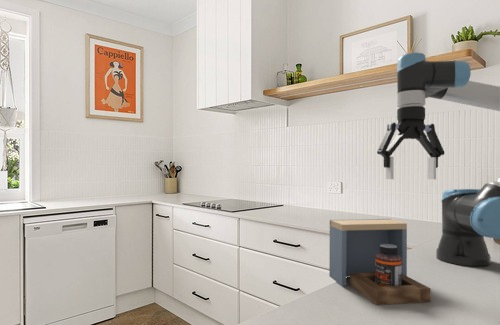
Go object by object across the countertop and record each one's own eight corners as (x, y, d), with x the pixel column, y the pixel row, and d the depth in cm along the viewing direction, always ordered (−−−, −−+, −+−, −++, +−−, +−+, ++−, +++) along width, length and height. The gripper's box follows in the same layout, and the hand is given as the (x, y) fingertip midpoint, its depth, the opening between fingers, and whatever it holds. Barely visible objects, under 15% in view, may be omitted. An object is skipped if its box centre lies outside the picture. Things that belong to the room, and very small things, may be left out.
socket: (396, 282, 91) (396, 271, 91) (430, 301, 78) (430, 288, 78) (350, 284, 88) (350, 273, 88) (376, 304, 76) (376, 291, 76)
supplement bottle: (370, 292, 83) (370, 245, 83) (381, 286, 87) (381, 241, 88) (395, 299, 79) (395, 249, 79) (405, 293, 83) (405, 245, 83)
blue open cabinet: (389, 273, 98) (389, 218, 99) (406, 282, 90) (406, 223, 91) (329, 276, 95) (329, 219, 96) (341, 286, 88) (341, 224, 88)
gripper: (439, 110, 108) (440, 178, 108) (365, 108, 104) (365, 178, 104) (458, 106, 101) (458, 179, 100) (378, 103, 97) (378, 179, 96)
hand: (410, 179), depth 102 cm, fingers open, 13 cm apart
